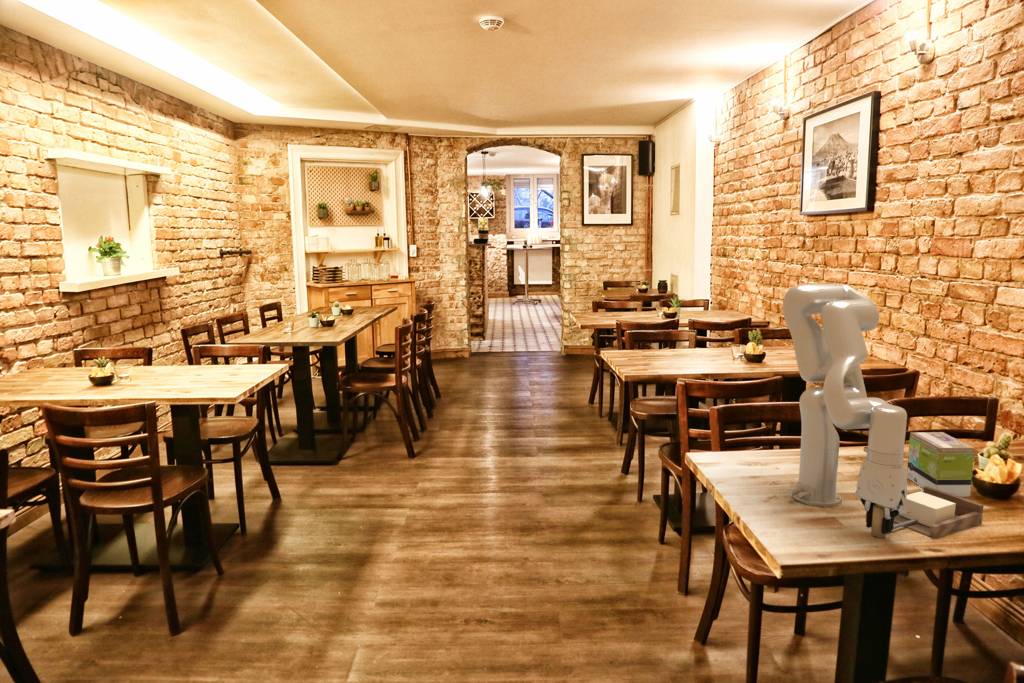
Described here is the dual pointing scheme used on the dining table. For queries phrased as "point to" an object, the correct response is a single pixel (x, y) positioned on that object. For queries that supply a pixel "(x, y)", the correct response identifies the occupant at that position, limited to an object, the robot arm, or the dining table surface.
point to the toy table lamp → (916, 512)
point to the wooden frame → (963, 519)
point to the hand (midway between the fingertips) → (878, 528)
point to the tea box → (940, 462)
